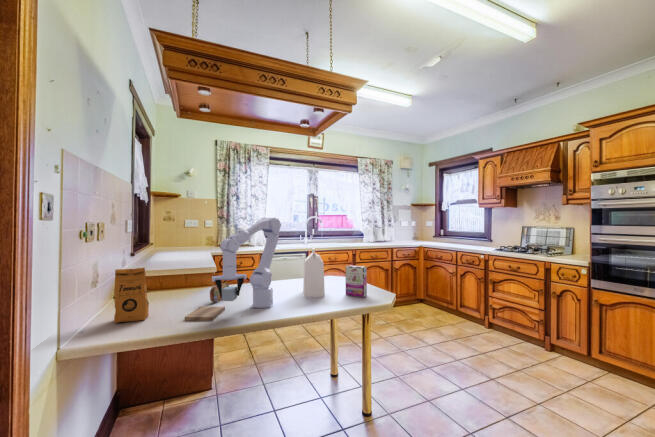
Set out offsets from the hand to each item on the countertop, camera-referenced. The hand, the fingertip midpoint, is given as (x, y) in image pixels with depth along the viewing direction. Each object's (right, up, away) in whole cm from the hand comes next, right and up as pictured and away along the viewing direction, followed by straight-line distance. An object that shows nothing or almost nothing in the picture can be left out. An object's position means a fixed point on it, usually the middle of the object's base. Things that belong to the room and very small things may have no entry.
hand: (229, 296), depth 128 cm
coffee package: (-40, -9, -6) cm, 41 cm away
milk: (+36, -9, +36) cm, 51 cm away
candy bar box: (+60, -9, +33) cm, 68 cm away
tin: (-13, -9, +24) cm, 29 cm away
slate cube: (0, -1, 0) cm, 1 cm away
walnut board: (-11, -8, 0) cm, 14 cm away
